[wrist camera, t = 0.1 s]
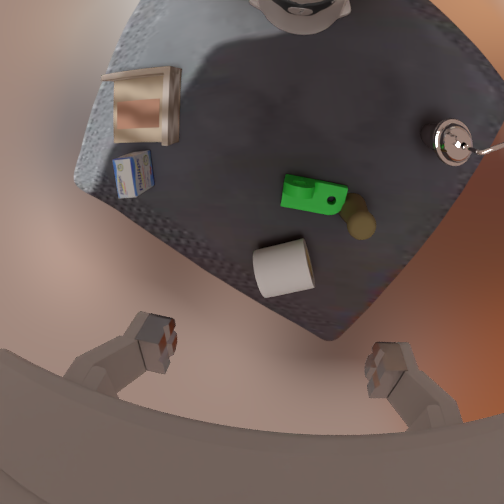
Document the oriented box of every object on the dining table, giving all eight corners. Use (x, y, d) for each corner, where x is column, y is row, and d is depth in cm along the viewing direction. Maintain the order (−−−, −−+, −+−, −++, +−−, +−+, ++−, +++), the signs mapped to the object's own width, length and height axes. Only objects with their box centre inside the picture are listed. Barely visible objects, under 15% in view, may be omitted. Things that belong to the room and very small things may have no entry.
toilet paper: (302, 230, 60) (304, 253, 52) (313, 270, 64) (316, 297, 56) (256, 241, 63) (250, 266, 54) (270, 280, 67) (266, 307, 58)
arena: (116, 76, 48) (101, 75, 43) (181, 69, 47) (170, 66, 42) (115, 142, 55) (101, 147, 50) (178, 141, 54) (167, 145, 49)
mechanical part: (281, 202, 58) (277, 217, 51) (285, 173, 55) (283, 184, 48) (339, 214, 57) (344, 229, 50) (346, 185, 54) (352, 197, 47)
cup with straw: (411, 111, 45) (465, 119, 28) (449, 118, 44) (508, 131, 27) (410, 152, 49) (460, 178, 32) (446, 158, 48) (502, 185, 31)
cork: (340, 190, 55) (350, 209, 46) (368, 195, 55) (384, 215, 45) (334, 218, 58) (343, 242, 48) (362, 223, 58) (375, 247, 48)
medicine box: (155, 185, 59) (136, 197, 52) (137, 186, 60) (117, 199, 52) (150, 149, 56) (130, 157, 48) (132, 151, 56) (111, 160, 49)
